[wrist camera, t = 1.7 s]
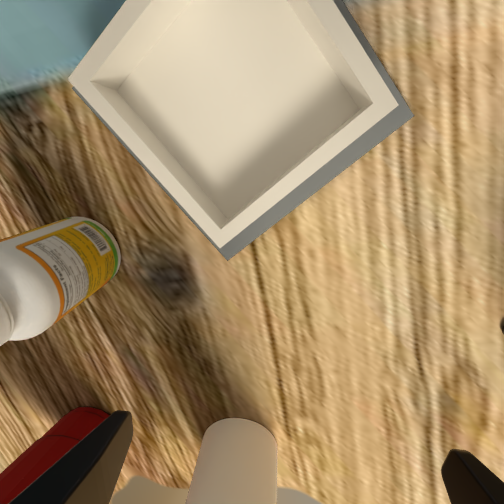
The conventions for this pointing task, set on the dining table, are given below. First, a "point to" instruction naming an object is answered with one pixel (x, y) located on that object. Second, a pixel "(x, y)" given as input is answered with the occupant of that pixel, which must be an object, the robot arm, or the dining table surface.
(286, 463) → the dining table surface
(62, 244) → the supplement bottle
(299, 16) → the dish
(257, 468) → the cylindrical container
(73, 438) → the plastic cup
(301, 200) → the mat
